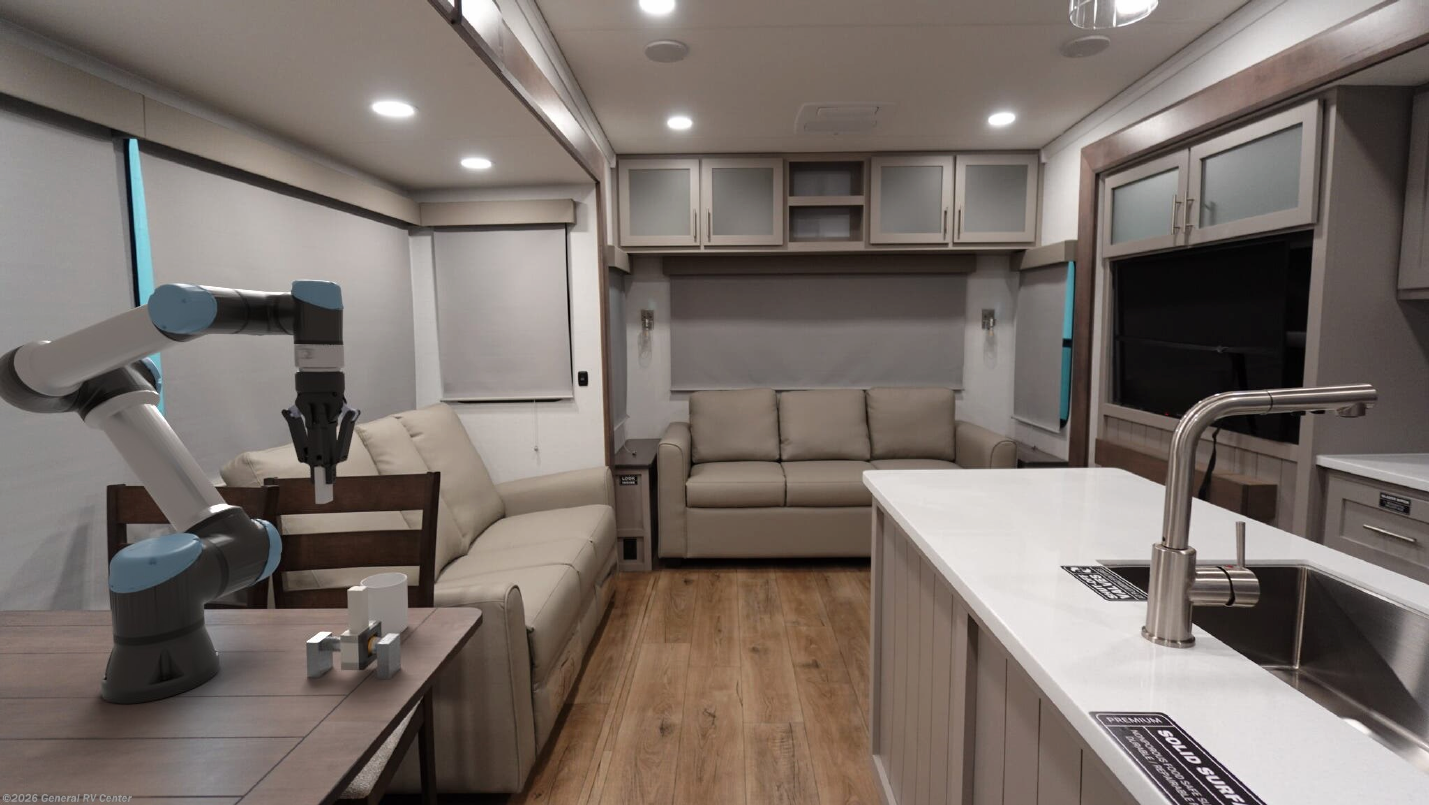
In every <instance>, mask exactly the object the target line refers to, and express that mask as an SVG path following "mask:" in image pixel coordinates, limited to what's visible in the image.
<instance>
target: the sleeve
mask: <svg viewBox="0 0 1429 805" xmlns="http://www.w3.org/2000/svg"><path fill="white" fill-rule="evenodd" d="M346 593H347V616H348V617H347V618H348V619H347V621H348V629H346V630H345V631H344V632H343V633H341V634H340V635H339V637H340V648H341V652H340V670H341V671H364V670H366V669H367V668H368V667H369V666H370V665H371V664H372V663H374V662H375V661H377V653H367V640H368V639H369V638H370V637H378V638H382V630H381V621H369V610H368V586H360V585H354V586H352V587H350V588H349V589H347V591H346Z"/></svg>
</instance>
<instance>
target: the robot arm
mask: <svg viewBox="0 0 1429 805" xmlns="http://www.w3.org/2000/svg"><path fill="white" fill-rule="evenodd" d="M343 304H344V303H343V296H342V288H341V286H340V284H338V283H336V282H335V281H327V280H319V279H317V280H316V279H315V280H314V279H296V280H295V279H294V280H293V281H292V282H291V289H290V291H288V292H281V291H280V292H279V291H277V292H275V291H274V292H273V291H258V290H249V289H248V290H247V289H237V288H228V287H226V288H225V287H220V286H219V287H216V286H210V285H200V284H194V283H186V282H184V283H165V284H161V285H159V286H157V287H156V288H155V289H154V292H153V293H152V294H150V295H149V297H148V300H147V303H144V304H142V305H140V306H137V307H134V308H132V309H129V310H127V311H124V312H121V313H120V314H116V315H114V316H112V317H109V318H106V319H104V320H102V321H99V322H97V323H94V324H91V325H89V326H87V327H84V328H82V329H78V330H77V331H74V332H72V333H68V334H66V335H64V336H62V337H61V336H60V337H59V338H56V339H54V340H52V341H49V340H34V341H31V342H28V343H25V344H23V345H20V346H17V347H15V348H13V349H11V350H9V351H8V352H5V354H3V355H2V356H0V398H1V399H2V400H3V401H4V402H5V403H7V404H9V405H11V406H13V407H14V408H17V409H19V410H22V411H24V412H30V413H35V414H46V415H47V414H49V415H50V414H64V413H76V414H78V416H79V417H80V419H82V421H83V423H84V424H85V425H86V426H87V428H89V429H91V430H92V429H93V430H99V431H103V432H104V434H105V435H106V436H107V438H108V439H109V441H110V442H111V444H113V446H114V448H115V449H116V450H117V451H118V453H119V454H120V455H121V457H122V458H123V460H124V461H125V463H126V464H127V465H128V467H129V468H130V469H131V471H132V472H133V474H134V475H135V476H136V477H137V479H138V480H139V481H140V483H141V484H142V486H143V487H144V488H145V490H146V492H147V493H148V495H150V497H151V499H152V500H153V501H154V502H155V503H156V505H157V507H158V508H159V509H160V511H161V512H162V514H163V515H164V516H165V517H166V519H167V520H168V522H169V523H170V525H172V527H173V529H174V530H175V531H176V532H175V533H170V534H169V533H168V534H163V535H161V536H159V537H158V536H154V537H150V538H147V539H143V540H140V541H137V542H135V543H132V544H130V545H127V546H126V547H124V548H122V549H121V550H119V551H118V552H116V554H115V555H114V556H113V557H112V558H111V561H110V563H109V577H108V581H107V584H108V585H107V587H108V588H109V590H110V606H111V607H110V608H111V609H110V610H111V622H112V641H113V646H112V649H111V652H110V655H109V656H108V661H107V664H106V668H105V670H104V671H105V672H104V674H103V675H102V677H101V680H100V681H101V682H100V688H101V690H100V692H101V697H102V699H104V700H105V701H106V702H109V703H112V704H125V705H127V704H140V703H146V702H151V701H157V700H161V699H164V698H168V697H172V696H175V695H179V694H181V693H184V692H187V691H190V690H192V689H194V688H196V687H198V686H200V685H202V684H204V683H206V682H208V681H209V680H210V679H211V678H214V676H216V675H217V673H218V672H219V671H220V669H221V664H220V660H221V659H220V653H219V651H218V650H217V648H215V646H214V643H213V641H212V639H211V637H210V634H209V632H208V630H207V628H206V621H205V605H206V604H207V603H210V602H212V601H215V600H217V599H220V598H222V597H224V596H227V595H230V594H232V593H235V592H236V591H239V590H241V589H243V588H244V589H245V588H249V587H252V586H254V585H255V584H257V583H258V582H260V581H262V580H264V579H266V578H268V577H269V576H271V575H272V574H273V573H274V572H275V570H276V569H277V568H278V567H279V564H280V561H281V556H282V554H281V553H282V552H283V546H282V545H283V543H282V539H281V535H280V533H279V531H278V530H277V528H276V527H275V526H274V525H273V524H272V523H271V522H269V521H268V520H263V519H260V518H254V519H253V518H252V519H251V518H250V517H249V515H248V514H247V513H246V511H245V510H244V509H243V507H242V506H238V505H229V504H228V503H227V502H226V500H225V499H224V498H223V496H222V495H221V493H220V492H219V491H218V489H217V488H216V487H215V485H214V484H213V483H212V481H211V480H210V479H209V476H207V475H206V473H205V472H204V470H203V469H202V468H201V467H200V465H199V464H198V462H197V461H196V459H195V458H194V457H193V456H192V454H191V453H190V451H189V450H188V448H187V447H186V446H185V445H184V443H183V442H182V440H181V439H180V437H178V435H177V434H176V432H175V431H174V429H173V428H172V427H171V426H170V424H169V422H167V420H166V418H165V417H164V416H163V415H162V413H161V412H160V411H159V409H158V406H159V404H160V401H161V396H160V394H161V391H162V382H161V381H159V380H160V379H161V378H162V376H161V372H160V370H159V369H158V367H157V365H156V364H155V363H154V361H153V360H151V358H150V357H151V356H154V355H157V354H158V353H161V352H164V351H166V350H169V349H173V348H174V347H177V346H180V345H182V344H184V343H188V342H190V341H193V340H196V339H199V338H201V337H202V338H203V337H204V336H206V335H207V336H208V335H248V336H259V337H261V336H293V354H294V355H293V356H294V357H293V358H294V359H293V360H294V368H296V369H298V370H297V371H295V373H294V388H295V391H296V394H297V395H296V397H295V399H294V404H293V405H291V406H290V407H288V408H283V409H281V415H282V417H283V418H284V419H285V421H286V422H287V425H288V428H289V429H288V430H289V433H290V437H291V439H292V443H293V447H294V451H295V455H296V457H297V461H298V462H299V463H300V464H306V465H308V467H309V473H310V475H309V476H310V477H309V478H310V483H311V485H314V490H315V491H314V495H315V497H314V498H315V504H316V505H325V504H328V503H330V502H332V501H334V490H333V489H334V486H333V485H334V484H336V483H337V479H338V478H337V477H338V475H337V466H338V465H339V464H341V463H343V462H347V461H348V459H349V452H350V448H351V445H352V444H351V443H352V440H353V435H354V430H355V425H356V422H357V420H358V419H359V417H360V415H361V412H362V411H361V410H360V409H359V408H353V407H352V406H350V405H348V401H347V399H346V397H345V390H346V377H345V375H346V373H345V372H344V371H343V370H341V369H343V368H344V367H345V351H344V350H345V347H344V336H343V335H344V332H343V329H344V305H343ZM302 416H303V418H304V420H303V418H302ZM340 416H341V418H342V419H341V421H340V424H339V418H340ZM339 425H340V426H339ZM338 426H339V429H337V428H338ZM337 430H338V432H337Z"/></svg>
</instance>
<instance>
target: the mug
mask: <svg viewBox="0 0 1429 805" xmlns="http://www.w3.org/2000/svg"><path fill="white" fill-rule="evenodd" d="M359 586H368V610H369V621H381V630H382V638H384V637H385V636H386V635H387V634H389V633H390V634H401V633H403V632H404V631H405V630H406V629H407V628H408V625H409V604H408V603H409V600H408V599H409V598H408V597H409V596H408V594H409V593H408V576H407V575H406V574H405V573H400V572H385V573H377V574H374V575H371V576H368V577H366V578H363V579H362V580H361V581H360V584H359Z"/></svg>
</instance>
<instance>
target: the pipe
mask: <svg viewBox="0 0 1429 805" xmlns="http://www.w3.org/2000/svg"><path fill="white" fill-rule="evenodd" d="M305 646H306V649H305V650H306V669H307V670H306V671H307V673H306V674H307V676H306V677H307V678H315V679H316V678H320V677H322V676H323V675H324V674H325V673H326V672H328V671H329V670H330V669H332V668H333V667H334V660H333V659H334V658H333V654H334V653H335V652H337V653H341V648H340V636H333V632H332V631H331V632H330V631H320V632H318V633H317V634H316V635H315V636H313V637H311V638H310V639H309V640H307V641H306V642H305ZM367 653H377V659H376V665H377V666H376V669H377V671H376V672H377V674H376V675H377V680H390V679H391V678H392V677H394V676H395V675H396V673H397V672H399V670H400V669H401V668H402V667H401V666H402V665H401V664H402V662H401V660H402V659H401V633H399V634H390V633H389V634H387V635H386V636H385V637H384V638H378V637H370V638H369V639H368V640H367Z"/></svg>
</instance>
